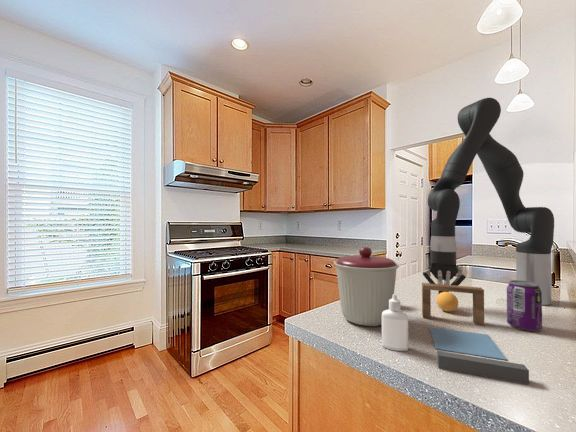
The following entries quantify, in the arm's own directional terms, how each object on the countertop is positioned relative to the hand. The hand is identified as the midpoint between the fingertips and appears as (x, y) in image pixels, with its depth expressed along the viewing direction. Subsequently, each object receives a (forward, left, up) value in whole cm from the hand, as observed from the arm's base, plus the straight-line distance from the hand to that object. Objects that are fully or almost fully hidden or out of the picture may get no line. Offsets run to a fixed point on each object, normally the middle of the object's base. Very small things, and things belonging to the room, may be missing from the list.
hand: (443, 301), depth 90 cm
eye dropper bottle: (+37, -15, -2) cm, 40 cm away
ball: (+5, 0, +1) cm, 5 cm away
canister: (+22, -23, -2) cm, 32 cm away
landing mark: (+28, 0, -2) cm, 28 cm away
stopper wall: (+42, 0, -2) cm, 42 cm away
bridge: (+13, 0, -2) cm, 13 cm away
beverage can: (+12, +17, -2) cm, 21 cm away
